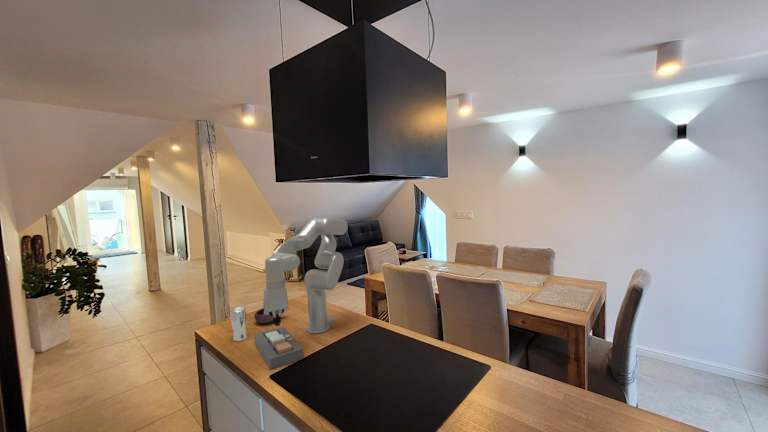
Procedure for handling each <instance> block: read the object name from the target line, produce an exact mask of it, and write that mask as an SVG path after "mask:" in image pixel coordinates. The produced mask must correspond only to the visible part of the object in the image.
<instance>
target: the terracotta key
mask: <svg viewBox="0 0 768 432" xmlns="http://www.w3.org/2000/svg"><path fill="white" fill-rule="evenodd" d="M288 351H292V346H291V345H290V344H289V342H288V341H287V342H284V343H280V344H277V345H275V352H276V353H277V355H279V354H282V353H285V352H288Z"/></svg>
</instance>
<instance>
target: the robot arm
mask: <svg viewBox="0 0 768 432" xmlns="http://www.w3.org/2000/svg"><path fill="white" fill-rule="evenodd" d="M348 226H349V225H348V223H347V221H346V220H344V219H342V218H332V217H319V216H318V217H312V218H310V219H309V221H307V223H306V224H305V225H304V226H303V228H302V229H301V230H300V231H299V232H298V234H297V235H295V236H293V237H290V238H289V239H287V240H286V241H284V242H283V243H281V244H280V245H279V246H277V248H276V249H275V251H273V252H272V254H271V256H269V257H267V258H265V260H264V267H265V268H264V269H265V272H264V273H265V287H264V289H263V297H262V298H263V300H262V301H263V302H262V303H263V305H262V306H263V308H264V314H265V315H271V316H272V317H273V321H272V324H273V325H274V326H275V327H277V326H279V327H280V323H282V320H281V319H282V317H281V316H283V314H284V312H286V311H289V309H290V308H289V296H288V291H287V288H286V284H288V280H287V279H286V280H285V275H284V272H287V271H288V272H290V271H294V270H296V269H298V268H299V266H300V263H301V260H300V259H301V258H300V257H299V256H298V255H296V254H294V253H295V252H298V251H301V250H304V249H308V248H310V247H311V246H312V245H313V244H314V242H315V241H316V239H318V237H319V236H320V238H321V243H320V245H319V248H318V250H317V253H316V256H315V259H314V265H315V266H316V268H318V269H315V268H314V269H309V270H308V271H306V273H305V275H304V284H305V289H306V293H307V294H306V295H307V312H308V324H307V326H306V327H305V331H307V333H309V334H322V333H326V332H327V331H329V330H330V329H331V326H332V325H331V323H334V322H336V321H337V319H336V317H333V318H332V316H329V317H328V311H327V310H328V309H327V294H326V291H332V290H334V289H335V288H336V286H337V284H338V281H339V279H340V276H341V274H342V270H343V267H344V262H345V261H344V259H345V258H344V256H343V254H342V253H341V252H338V251H336V249H337V240H336V239H335V236H343V235H345V234H346V233H347V231H348V230H349V229H348ZM277 310H278V311H277ZM275 311H277V315H276V314H275Z"/></svg>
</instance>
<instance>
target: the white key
mask: <svg viewBox="0 0 768 432" xmlns="http://www.w3.org/2000/svg"><path fill="white" fill-rule="evenodd" d="M269 340H270V345H271V346H275V345H277V344H280V343H284V342H285V338H284V336H283V335H282V334H280V335H276V336H273V337H269Z"/></svg>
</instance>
